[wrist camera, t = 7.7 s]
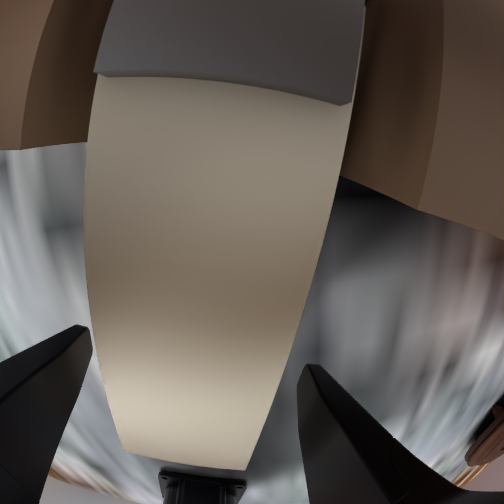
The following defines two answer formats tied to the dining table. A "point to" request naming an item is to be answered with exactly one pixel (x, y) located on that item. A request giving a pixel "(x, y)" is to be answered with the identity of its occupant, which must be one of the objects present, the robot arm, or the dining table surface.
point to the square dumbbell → (364, 106)
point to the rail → (210, 208)
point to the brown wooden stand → (488, 441)
